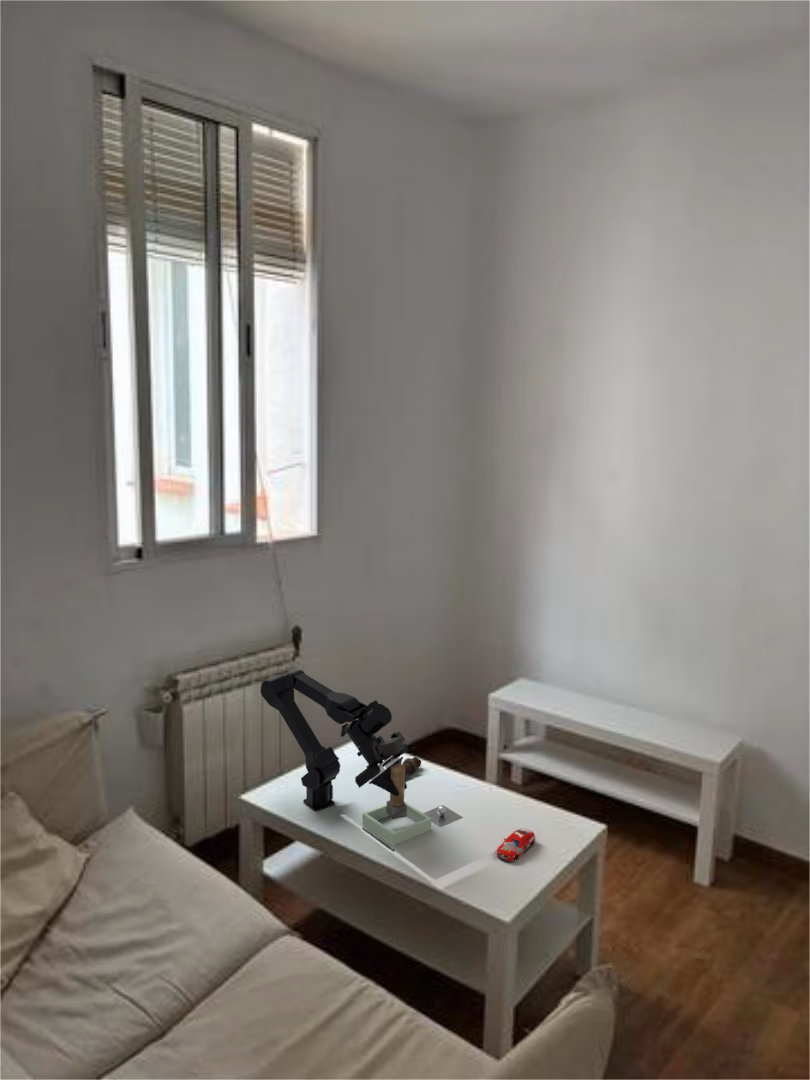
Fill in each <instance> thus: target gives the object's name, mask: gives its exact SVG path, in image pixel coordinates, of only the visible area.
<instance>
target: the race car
mask: <svg viewBox="0 0 810 1080" xmlns="http://www.w3.org/2000/svg"><path fill="white" fill-rule="evenodd" d="M503 840H504V841H502V843H501V844H500V845H499V846H498V847H497V848H496V856H497V857H498V858H499V859H500V860H502V861H505V862H511V863H512V862H514V861H515V860H516V861H518V860H519V859H520V858H521V857H522V856H523V855H524V854H525V853H527V851H529V850H530V849H531V848H532V847H531V846H532V845H533V846H534V844H535V843H536V836H535V833H534V832H533V830H530V829H527V828H523V827H522V828H521V827H520V828H519V829H516V830H514V831H513V832H512V833H511V834H509V835H508V836H507V838H503ZM530 847H531V848H530ZM529 848H530V849H529ZM520 856H521V857H520ZM517 859H518V860H517Z"/></svg>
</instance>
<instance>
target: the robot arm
mask: <svg viewBox="0 0 810 1080" xmlns="http://www.w3.org/2000/svg"><path fill="white" fill-rule="evenodd" d="M295 691H297V692H299V693H300V694H302V695H303V696H305V697H307V698H308V699H310V700H311V701H313V702H315V703H317V704H318V705H319V706H321V707H322V708H323V709H324V710H325V713H326V715H327V716H328V717H329V718H330V719H332V720H333V721H334V722H335V723H336V724H339V725H342V724H343V725H342V726H341V730H340V737H341V738H343V737H345V736H347V735H348V737H349V738H350V740H351V742H352V743H353V744H354V746H355V748H356V749H357V750H358V752H357V753H356V755H357V756H358V757H360V756H362V757H363V759H364V760H365V761H366V763H367V765H366V768H365V769H364V770H363V771H362V772H360V773H358V774H357V775H356V776H354V777H355V781H354V782H355V784H356V786H358V788H359V789H360V788H361V787H363V786H364V785H366V784H367V783H368V784H369V785H371V784H372V785H374V786H376V787H378V788H380V789H382V790H383V791H384V790H385V791H386V792H388V793H391V794H393V795H395V796H398V795H399V794H400V793H399V791H398V790H397V788H396V786H395V785H394V783H393V781H392V780H391V766H392V765H394V764H402V763H403V762H402V761H403V759H404V756H402V755H403V754H405V753H406V752H408V751H409V750H410V749H409V747H408V746H407V744H406V743H404V742H405V741H406V738H405V737H404V736H403V735H402V733H401V732H400V731H399V730H397V731H394V732H393V733H391V735H390V737H389V738H387V739H384V738H383V736H381V735H379V736H378V737H377V735H376V734H377V733H378V732H380V731H382V729H383V728H385V727H386V726H387V725H389V724H390V723H391V721H392V718H393V717H392V712H391V711H390V708H388V707H387V706H386V705H384V704H382V703H379V702H378V700H373V701H371V702H370V703H368V705H367V704H365V703H363V702H361V701H359V700H358V699H357V698H356V697H355V696H354V695H353V696H352V695H350V694H348V693H343V692H337V691H334V690H332V689H330V688H329V687H327V686H326V685H324V684H323V683H321V682H319V681H317V680H316V679H314V678H313V677H311V676H309V675H307V674H306V673H305V671H303V669H295V670H293V671H290V672H288V673H287V674H278V675H276V676H274V677H271V678H269V679H266V680H264V681H262V682H261V685H260V691H259V692H260V694H261V696H262V698H263V699H264V700H265V702H266V703H267V704H268V705H269V706H270V707H271V708H274V709H275V710H277V711H278V712H279V714H280V715H281V717H282V718H283V720H284V722H285V724H286V726H287V727H288V728H289V731H290V732H291V733H292V735H293V737H294V739H295V740H296V742H297V744H298V745H299V748H301V750H302V752H303V754H304V756H305V768H306V771H307V773H306V774H303V776H301V778H300V780H301V785H302V786H303V787H304V788H306V791H305V792H306V796H305V797H306V798H305V799H303V800H302V801H303V803H304V804H305V803H306V804H305V805H307V806H308V807H309V806H310V807H309V808H311V809H312V810H313V809H314V810H313V811H314V812H315V811H316V812H317V810H318V811H319V810H323V809H325V808H328V807H331V806H334V805H335V804H336V802H335V801H334V800H333V797H334V794H333V793H334V786H333V784H332V783H333V781H334V780H335V779H336V778H337V776H338V775H339V774H340V771H341V763H340V758H339V756H338V755H337V754H336V753H335V750H334V749H333V748H332V747H331V746H329V747H328V748H326V747H324V746H323V745H321V743H320V741H319V739H318V738H317V736H316V735H315V732H314V731H313V729H312V727H311V726H310V724H309V723H308V721H307V720H306V717H305V716H304V714H303V713H302V711H301V709H300V707H299V706H298V704H297V703H296V700H295ZM384 767H385V768H384ZM406 789H408V785H407V782H406V781H405V787H404V791H405V790H406Z"/></svg>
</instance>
